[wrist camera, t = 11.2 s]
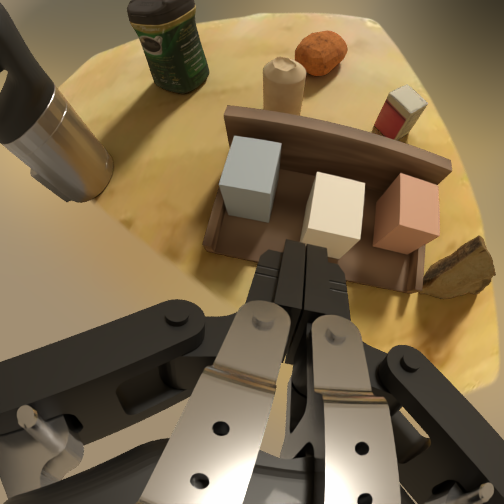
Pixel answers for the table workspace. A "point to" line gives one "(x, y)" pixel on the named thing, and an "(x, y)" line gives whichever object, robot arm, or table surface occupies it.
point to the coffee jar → (170, 42)
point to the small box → (400, 112)
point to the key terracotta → (407, 215)
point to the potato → (320, 52)
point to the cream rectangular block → (333, 214)
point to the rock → (460, 271)
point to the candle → (283, 86)
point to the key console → (300, 184)
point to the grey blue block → (251, 178)
